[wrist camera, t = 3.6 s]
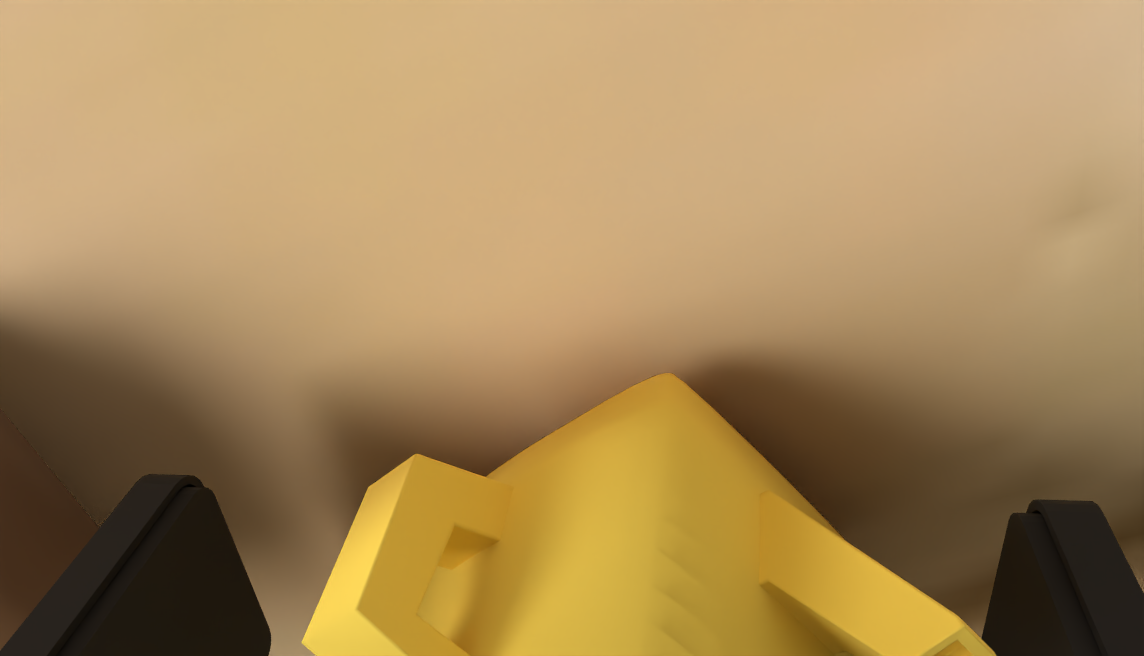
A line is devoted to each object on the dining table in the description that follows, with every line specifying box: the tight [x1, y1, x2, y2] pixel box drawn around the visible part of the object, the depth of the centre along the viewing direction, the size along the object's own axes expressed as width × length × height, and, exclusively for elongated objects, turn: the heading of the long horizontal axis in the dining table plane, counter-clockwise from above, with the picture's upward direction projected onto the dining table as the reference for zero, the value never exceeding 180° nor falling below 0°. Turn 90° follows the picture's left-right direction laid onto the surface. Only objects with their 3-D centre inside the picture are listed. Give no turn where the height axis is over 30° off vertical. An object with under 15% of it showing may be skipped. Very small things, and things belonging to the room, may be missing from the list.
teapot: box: [302, 373, 996, 656], centre depth 10 cm, size 8×6×5 cm
